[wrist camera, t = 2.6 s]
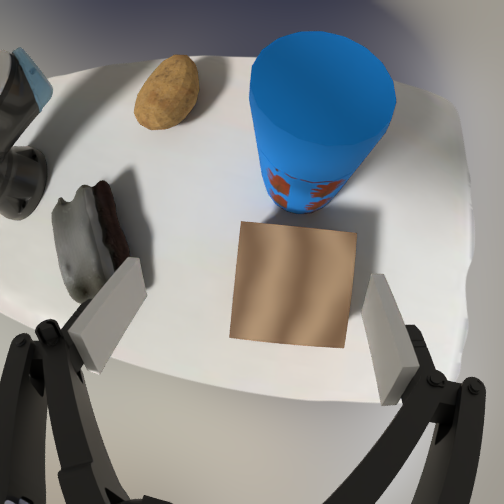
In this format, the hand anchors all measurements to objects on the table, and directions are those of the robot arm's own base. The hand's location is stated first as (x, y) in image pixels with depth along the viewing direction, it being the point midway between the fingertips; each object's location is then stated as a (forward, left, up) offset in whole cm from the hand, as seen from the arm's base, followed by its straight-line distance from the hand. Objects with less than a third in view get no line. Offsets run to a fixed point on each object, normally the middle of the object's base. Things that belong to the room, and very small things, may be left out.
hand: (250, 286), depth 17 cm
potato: (-17, +26, -26) cm, 41 cm away
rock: (-26, +2, -26) cm, 37 cm away
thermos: (+4, +14, -26) cm, 30 cm away
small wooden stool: (+4, -1, -26) cm, 26 cm away
